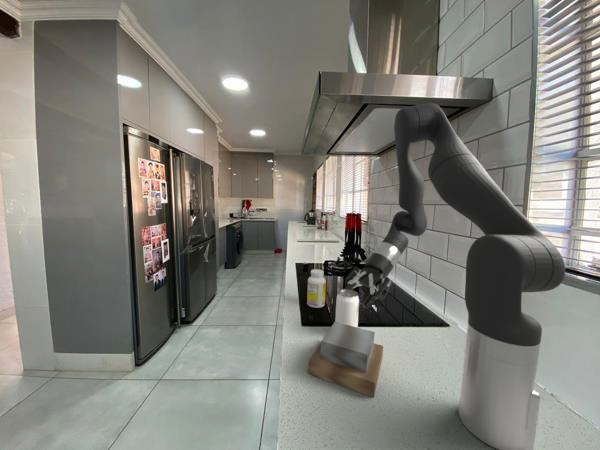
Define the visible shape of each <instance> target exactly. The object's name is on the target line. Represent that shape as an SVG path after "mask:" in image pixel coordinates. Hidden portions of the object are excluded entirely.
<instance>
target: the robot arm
mask: <svg viewBox="0 0 600 450" xmlns="http://www.w3.org/2000/svg"><path fill="white" fill-rule="evenodd" d="M395 114H396V115H395V116H394V118H395V119H394V123H393V124H394V125H393V126H394V127H393V128H394V129H393V131H394V141H395V144H394V145H395V151H396V152H395V154H396V161H397V169H398V178H399V180H398V183H399V188H398V205H399V207H400V208H401V209H403V210H400V211H397V212H396V213H395V215H393V218H392V221H391V224H390V227H389V230H388V232H387V234H386V235H385V237H384V238H383V239H382V241H381V242H380V244H378V246H376V248H375V249H374V251H372V253H371V254H370V256H369V258H368V259H367V260H366V261H365V263H364V268H362V269H359V267H357V266H355V267H354V268H353V269H352V270H351V271H350V273H348V275H347V276H346V277H345V278H344V280H345V282H346V283H347V285H346V286H345V288H344V289H343V290H352V291H354V289H355V288H357V287H362V286H363V287H367V288H368V289H369V293H368V294H367V296H366V297H365V298H364V300H363V302H362V303H361V306H363V308H364V309H366V310H368V309H369V308H370V307H372V305H373V303H374V302H375V300H377V299H379V300H381V301H383V300H384V299H385V298H386V296H387V295H388V292H389V291H390V289H391V288H392V286H393V282H392V281H391V279H390V278H389V277H388V276H389V275H390V274H391V273H392V270H393V269H394V267H395V266H396V265H397V264H398V262H399V259H400V257H401V256H402V255H403V253H404V251H405V250H406V249H407V248H408V246H409V239H408V237H407V236H406V235H405V234H407V235H410V236H415V237H420V236H423V234H424V233H425V232H426V231H427V227H428V218H427V215H426V211H425V206H424V193H425V181H424V178H423V175H422V173H421V172H420V170H419V169H418V168H417V166H416V163H414V161H413V159H412V156H411V151H410V144H414V143H418V142H425V141H429V142H431V144H432V145H433V146H434V148H433V149H434V150H433V153H432V155H431V158H430V161H429V162H428V163H429V165H428V168H427V173H428V174H427V175H428V178H429V181H431V183H432V185H433V188H434V189H435V191H436V193H437V194H438V196H439V197H440V199H442V200H443V201H444V202H445V203H446V204H447V205H448V206H449V207H451V208H452V209H453V210H454V211H456V212H457V213H458V214H461V216H463V217H465V218H466V219H467V220H469V221H471V222H472V223H473V224H474V225H476V227H478V228H479V230H480V231H481V232H482V233H483V235H482V236H480V237H478V238H476V239H475V240H474V241H473V242H472V243H471V245H470V247H469V249H468V252H467V256H466V262H465V263H466V265H465V286H464V287H465V288H464V289H465V290H464V302H465V306H466V311H467V314H468V315H467V317H468V318H467V327H466V339H465V348H464V357H463V365H462V366H463V367H462V374H461V375H462V376H461V383H460V394H459V395H460V396H459V403H458V404H459V405H458V416H459V419H460V421H461V422H462V424H463V425H464V427H466V429H467V430H468V431H469V432H470V433H471V434H473V436H475V437H476V438H477V439H478V440H480V441H482V442H483V443H485V444H487V445H489V446H490V447H492V448H494V449H496V450H534V449H535V442H536V434H537V427H538V420H539V419H538V418H539V413H540V412H539V411H540V404H541V395H540V393H539V392H538V391H537V389H536V380H537V374H538V373H537V372H538V371H537V370H538V364H539V357H540V356H539V355H540V348H541V347H540V346H541V342H542V333H543V331H542V330H543V329H542V325H541V324H540V322H539V321H538V320H537V319H535V318H534V317H533V316H531V315H529V314H526V313H525V312H522V294H523V293H539V292H540V293H542V292H547V291H551V290H554V289H556V288H558V287H559V286H560V285H561V284H562V282H563V281H564V279H565V276H566V264H565V260H564V259H563V257H562V254H561V253H560V251H559V249H558V248H557V247H556V246H555V244H553V242H552V241H551V240H550V239H549V238H548V237H547V236H546V235H545V234H544V233H542V231H541V230H540V229H538V227H536V226H535V225H534V224H533V223H532V222H531V221H530V220H529V219H528V218H527V217H526V216H525V215H524V214H523V213H522V212H521V211H520V210H519V209H518V208H517V207H516V206H515V205H514V204H513V203H512V201H511V200H510V199H509V198H508V196H507V195H506V194H505V192H504V191H503V190H502V189H501V188H500V186H499V185H498V184H497V183H496V182H495V181H494V180H493V178H492V177H491V176H490V175H489V173H488V171H487V170H486V169H485V168H484V166H483V165H482V164H481V163H480V162H479V160H478V159H477V157H476V156H475V155H474V154H473V153H472V152H471V150H469V149H468V147H467V146H466V145H465V143H463V141H462V139H461V138H460V137H459V135H458V134H457V133H456V131H455V129H454V128H453V126H452V125H451V123H450V121H449V119H448V118H447V116H446V114H445V112H444V110H443V109H442V107H440V105H438V104H437V103H433V102H427V103H422V104H415V105H412V106H406V107H403V108H400V109H399V110H398V111H397V112H396V113H395Z"/></svg>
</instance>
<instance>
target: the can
mask: <svg viewBox="0 0 600 450" xmlns="http://www.w3.org/2000/svg"><path fill="white" fill-rule="evenodd" d="M359 310H360V298H359V292H357V291H355V290H344V289H339V290H338V294H337V296H336V303H335V321H334V322H337V323H341V324H345V325H349V326H353V327H357V328H359V327H358V326H359V312H360V311H359Z"/></svg>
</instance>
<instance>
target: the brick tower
mask: <svg viewBox="0 0 600 450" xmlns="http://www.w3.org/2000/svg"><path fill="white" fill-rule="evenodd" d="M375 333H376V331H373V330H369V329H365V328H361V327H358V328H357V327H353V326H349V325H345V324H341V323H337V322H335V321H334V322H333V324H332V325H331V327H330V328H329V329H328V331H327V332H326V333H325V335H324V336H323V337H322V339H321V341H320V343H319V344H318V346H317V348H316V349H315V350H314V352H313V354H312V355H311V356H310V357H309V359H308V365H307V366H308V367H307V374H309V375H311V376H314V377H316V378H319V379H322V380H325V381H328V382H331V383H333V384H336V385H339V386H342V387H345V388H347V389H350V390H352V391H355V392H357V393H361V394H364V395H366V396H369V397H372V398H374V397H375V395H376V389H377V386H378V379H379V375H380V372H381V371H380V370H381V365H382V360H383V355H384V354H383V352H384V345H381V344H378V343H375Z"/></svg>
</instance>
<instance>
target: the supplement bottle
mask: <svg viewBox="0 0 600 450" xmlns="http://www.w3.org/2000/svg"><path fill="white" fill-rule="evenodd" d="M324 272H325V271H324V270H322V269H318V268H317V269H315V268H314V269H311V270H310V275H311V276H309V277H308V279H307V292H306V293H307V294H306V295H307V296H306V304H307V305H308V306H309V307H311V308H314V309H315V308H316V309H319V308H323V307H324V306H325V304H326V285H327V284H326V282H327V281H326V280H327V279H326V278H325V277H324V275H325V274H324Z"/></svg>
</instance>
